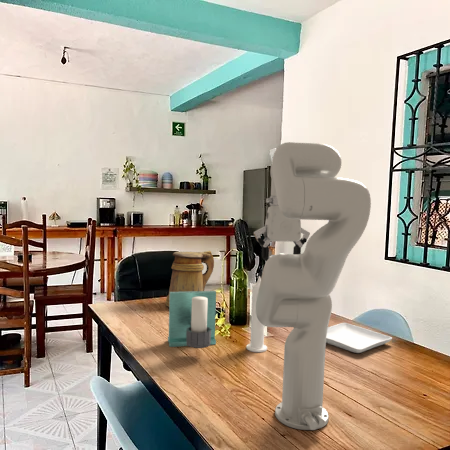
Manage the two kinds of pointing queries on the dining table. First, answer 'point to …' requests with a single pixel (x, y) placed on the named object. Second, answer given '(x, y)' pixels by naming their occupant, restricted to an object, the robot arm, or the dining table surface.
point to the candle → (256, 325)
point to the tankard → (190, 271)
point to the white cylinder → (199, 314)
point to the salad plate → (354, 337)
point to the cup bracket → (182, 320)
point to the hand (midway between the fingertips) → (281, 260)
